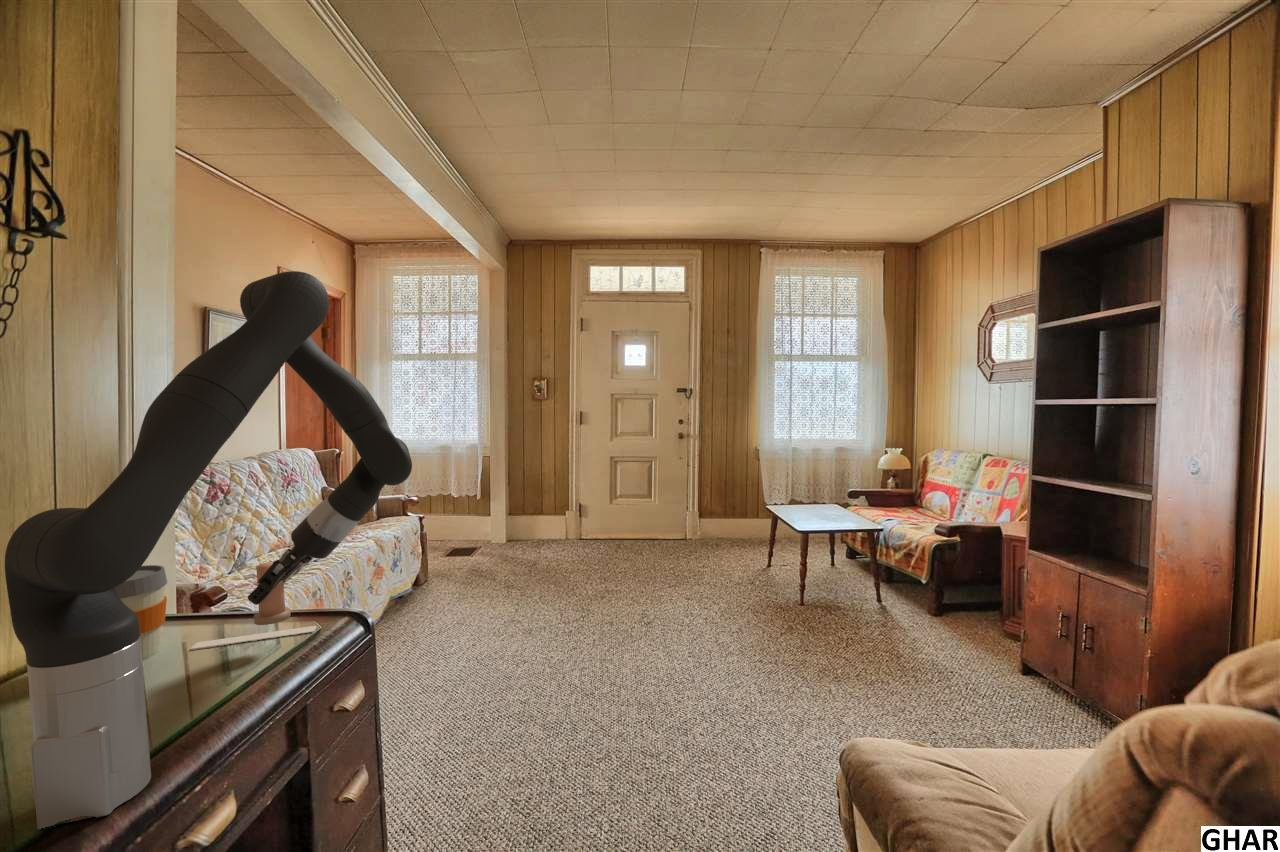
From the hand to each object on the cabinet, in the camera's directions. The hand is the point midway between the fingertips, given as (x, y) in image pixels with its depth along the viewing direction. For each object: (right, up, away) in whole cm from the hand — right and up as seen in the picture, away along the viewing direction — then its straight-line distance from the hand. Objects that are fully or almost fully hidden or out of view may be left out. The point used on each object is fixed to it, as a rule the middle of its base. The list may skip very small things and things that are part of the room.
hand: (259, 596), depth 103 cm
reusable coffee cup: (-24, -11, 0) cm, 26 cm away
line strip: (-5, -10, +6) cm, 12 cm away
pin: (+2, -4, 0) cm, 5 cm away
